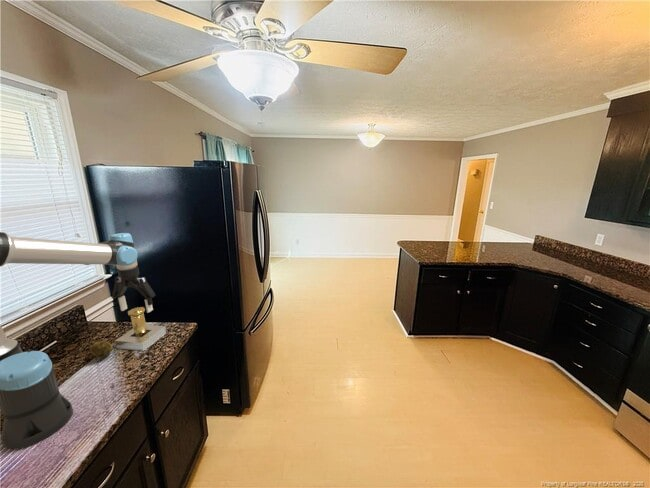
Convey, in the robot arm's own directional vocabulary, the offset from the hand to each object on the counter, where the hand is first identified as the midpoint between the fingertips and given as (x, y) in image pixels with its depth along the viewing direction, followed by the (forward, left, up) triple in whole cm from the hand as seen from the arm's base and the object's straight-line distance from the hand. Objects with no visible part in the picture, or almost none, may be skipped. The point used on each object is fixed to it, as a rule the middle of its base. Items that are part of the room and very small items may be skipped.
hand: (137, 310), depth 123 cm
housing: (0, 0, -16) cm, 16 cm away
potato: (-12, +8, -16) cm, 22 cm away
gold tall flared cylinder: (0, 0, -16) cm, 16 cm away
